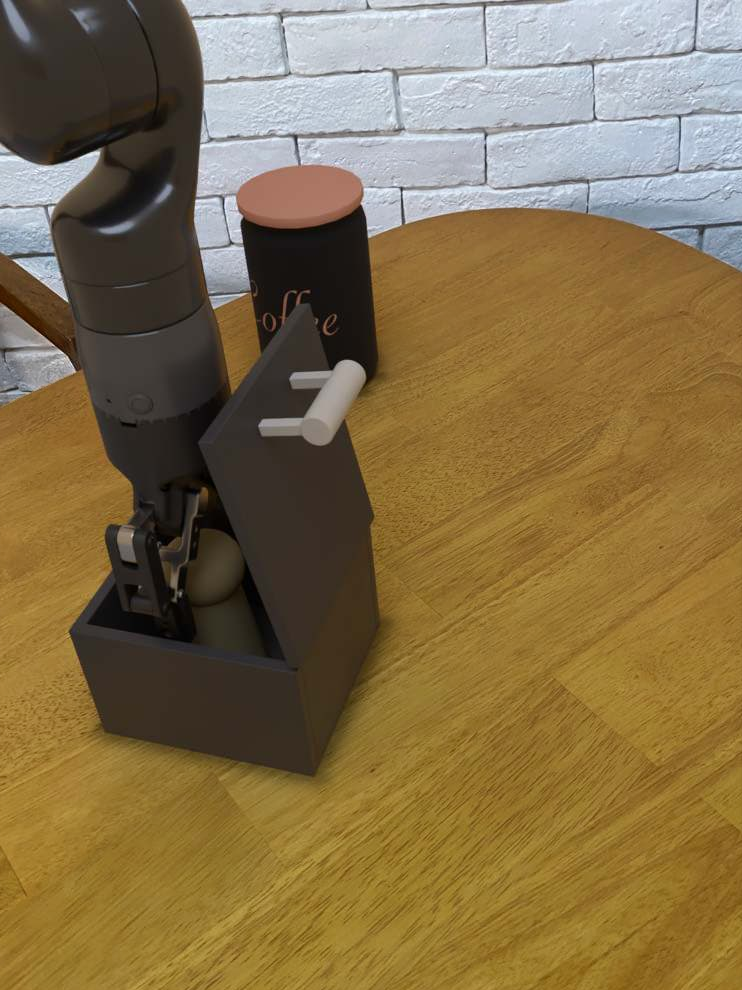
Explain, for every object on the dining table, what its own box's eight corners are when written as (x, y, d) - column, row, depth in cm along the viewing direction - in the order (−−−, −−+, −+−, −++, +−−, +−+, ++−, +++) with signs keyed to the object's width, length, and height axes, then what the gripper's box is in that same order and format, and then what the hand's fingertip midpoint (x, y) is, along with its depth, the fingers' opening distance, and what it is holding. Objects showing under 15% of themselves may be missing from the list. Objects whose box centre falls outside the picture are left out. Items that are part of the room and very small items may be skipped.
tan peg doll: (165, 688, 76) (129, 567, 68) (209, 626, 80) (180, 506, 72) (245, 710, 74) (217, 588, 66) (285, 646, 78) (264, 525, 71)
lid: (197, 442, 54) (290, 440, 52) (297, 303, 64) (378, 297, 62) (288, 668, 64) (370, 673, 62) (364, 516, 73) (436, 517, 71)
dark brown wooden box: (105, 735, 74) (68, 630, 67) (193, 595, 83) (167, 491, 77) (314, 780, 70) (296, 673, 64) (380, 628, 80) (370, 522, 73)
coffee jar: (241, 386, 104) (208, 201, 93) (312, 334, 111) (290, 155, 99) (332, 420, 99) (309, 229, 88) (401, 363, 106) (389, 178, 94)
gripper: (153, 303, 67) (200, 513, 78) (28, 442, 57) (102, 661, 68) (270, 316, 65) (302, 529, 76) (162, 461, 55) (216, 683, 66)
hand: (208, 591), depth 72 cm, fingers open, 8 cm apart
